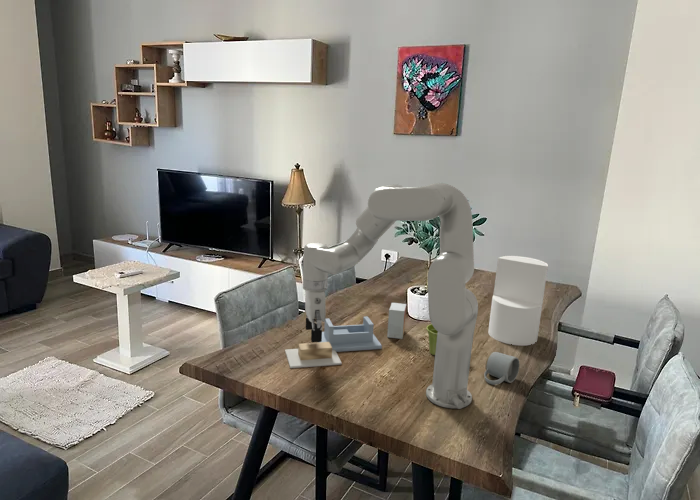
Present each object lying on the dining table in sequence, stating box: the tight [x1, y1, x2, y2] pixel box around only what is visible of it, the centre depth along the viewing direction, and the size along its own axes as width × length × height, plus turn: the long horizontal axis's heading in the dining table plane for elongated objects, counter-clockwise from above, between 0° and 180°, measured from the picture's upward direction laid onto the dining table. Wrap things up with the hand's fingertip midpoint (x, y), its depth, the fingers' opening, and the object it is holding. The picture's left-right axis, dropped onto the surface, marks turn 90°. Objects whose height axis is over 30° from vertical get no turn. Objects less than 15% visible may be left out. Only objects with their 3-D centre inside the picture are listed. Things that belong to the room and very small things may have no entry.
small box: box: [386, 302, 407, 340], centre depth 183 cm, size 8×6×10 cm
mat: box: [284, 348, 342, 369], centre depth 163 cm, size 12×16×1 cm
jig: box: [317, 315, 383, 353], centre depth 175 cm, size 20×14×8 cm
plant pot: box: [426, 323, 438, 356], centre depth 170 cm, size 9×9×9 cm
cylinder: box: [488, 255, 549, 346], centre depth 185 cm, size 17×17×28 cm
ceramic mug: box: [483, 351, 521, 386], centre depth 154 cm, size 11×8×8 cm
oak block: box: [297, 342, 332, 360], centre depth 163 cm, size 10×4×4 cm, turn 105°
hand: (313, 335), depth 161 cm, fingers open, 9 cm apart
